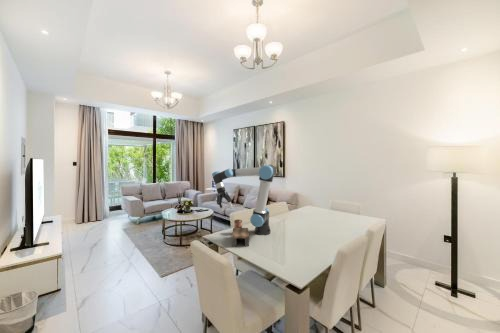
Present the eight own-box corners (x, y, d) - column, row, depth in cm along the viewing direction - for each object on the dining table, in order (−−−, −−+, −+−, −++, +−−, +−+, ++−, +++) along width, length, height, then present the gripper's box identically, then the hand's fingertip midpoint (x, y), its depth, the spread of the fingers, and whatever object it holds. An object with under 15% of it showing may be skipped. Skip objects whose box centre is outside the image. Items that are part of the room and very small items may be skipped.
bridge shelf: (247, 236, 192) (247, 227, 192) (248, 246, 173) (249, 236, 172) (232, 236, 192) (233, 227, 191) (232, 246, 172) (232, 236, 171)
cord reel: (241, 232, 204) (241, 219, 204) (241, 234, 197) (242, 221, 197) (234, 232, 204) (234, 219, 203) (234, 234, 197) (234, 221, 196)
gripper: (225, 188, 214) (231, 209, 210) (208, 190, 192) (215, 213, 188) (231, 185, 211) (237, 206, 206) (215, 187, 189) (222, 210, 184)
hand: (227, 210), depth 197 cm, fingers open, 13 cm apart
